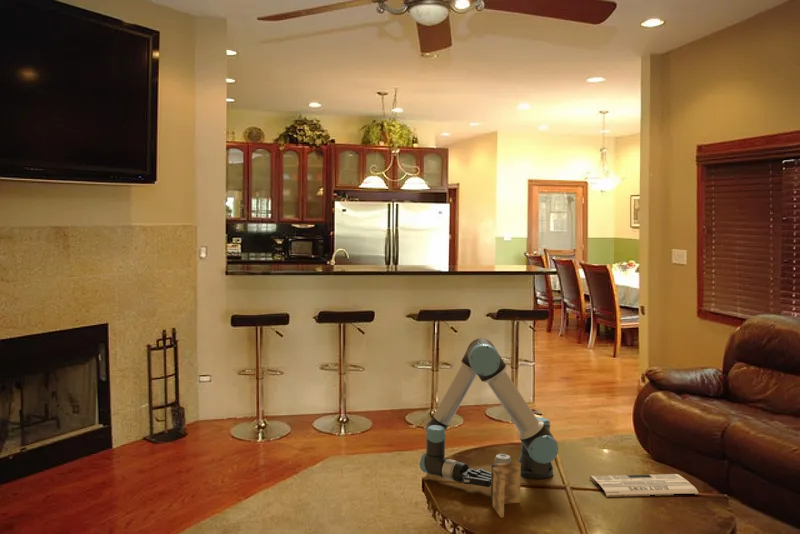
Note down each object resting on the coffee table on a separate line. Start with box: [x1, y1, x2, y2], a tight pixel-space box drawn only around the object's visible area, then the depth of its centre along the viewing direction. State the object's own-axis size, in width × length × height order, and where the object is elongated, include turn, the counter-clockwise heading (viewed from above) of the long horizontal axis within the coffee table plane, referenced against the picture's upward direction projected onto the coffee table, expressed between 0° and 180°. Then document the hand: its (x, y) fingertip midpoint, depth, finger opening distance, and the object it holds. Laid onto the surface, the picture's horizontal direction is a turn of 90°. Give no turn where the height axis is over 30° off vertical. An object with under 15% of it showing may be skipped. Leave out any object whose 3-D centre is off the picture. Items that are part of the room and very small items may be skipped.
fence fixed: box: [492, 467, 505, 518], centre depth 235 cm, size 9×2×15 cm, turn 10°
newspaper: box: [589, 473, 699, 498], centre depth 260 cm, size 37×19×3 cm, turn 94°
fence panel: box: [490, 461, 522, 506], centre depth 242 cm, size 11×2×15 cm, turn 101°
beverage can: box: [494, 453, 512, 467], centre depth 260 cm, size 6×6×12 cm
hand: (510, 485), depth 243 cm, fingers closed
